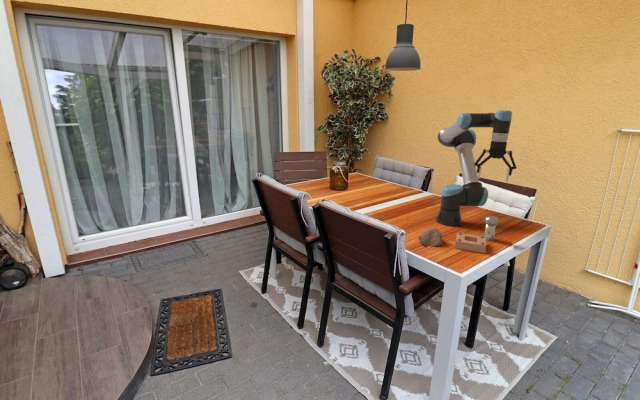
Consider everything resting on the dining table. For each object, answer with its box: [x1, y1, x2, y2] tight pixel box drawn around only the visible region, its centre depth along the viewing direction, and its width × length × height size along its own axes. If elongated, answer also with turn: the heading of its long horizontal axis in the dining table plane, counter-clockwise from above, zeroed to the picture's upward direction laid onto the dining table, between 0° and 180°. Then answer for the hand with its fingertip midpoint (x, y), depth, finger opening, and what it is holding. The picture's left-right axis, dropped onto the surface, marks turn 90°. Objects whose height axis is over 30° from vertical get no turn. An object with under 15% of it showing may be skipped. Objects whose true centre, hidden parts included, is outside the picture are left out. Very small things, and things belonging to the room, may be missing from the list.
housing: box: [454, 232, 487, 254], centre depth 170 cm, size 14×12×6 cm
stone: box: [418, 227, 443, 247], centre depth 175 cm, size 12×9×10 cm
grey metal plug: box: [483, 215, 499, 242], centre depth 178 cm, size 6×6×13 cm
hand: (492, 179), depth 180 cm, fingers open, 13 cm apart
